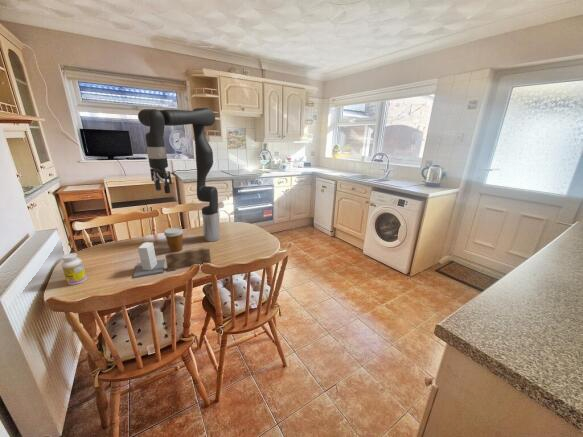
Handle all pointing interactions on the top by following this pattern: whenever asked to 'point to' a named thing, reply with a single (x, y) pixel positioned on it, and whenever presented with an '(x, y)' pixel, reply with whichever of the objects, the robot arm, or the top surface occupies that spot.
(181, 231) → the disposable coffee cup
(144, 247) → the skincare box
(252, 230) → the top surface
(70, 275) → the supplement bottle
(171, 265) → the walnut screen
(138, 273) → the slate tile
